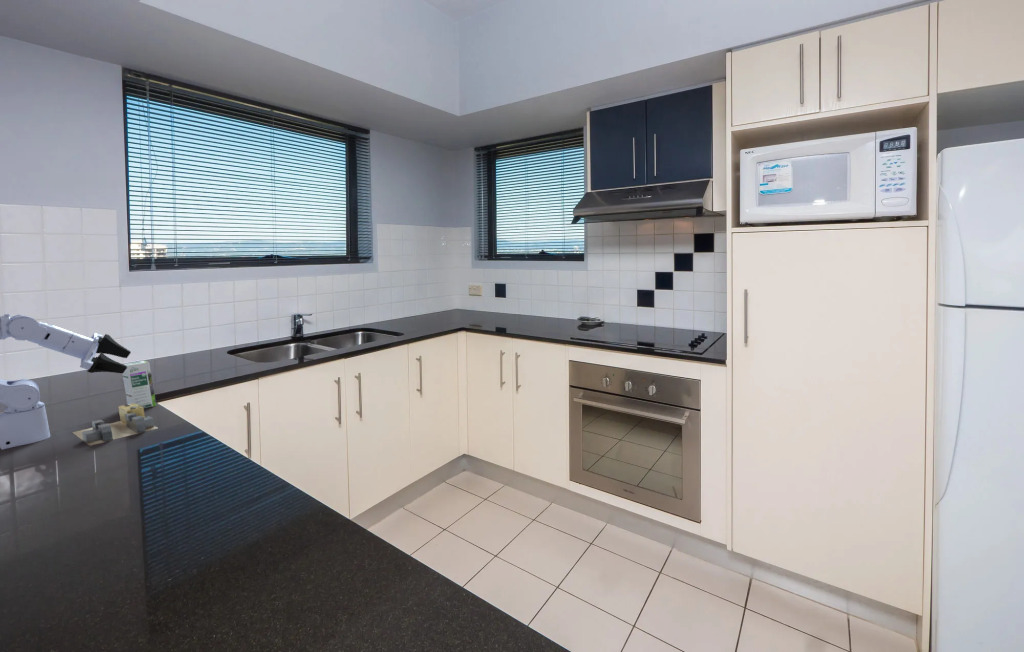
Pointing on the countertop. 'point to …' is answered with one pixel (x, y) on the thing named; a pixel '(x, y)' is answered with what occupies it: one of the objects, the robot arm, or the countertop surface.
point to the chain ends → (105, 432)
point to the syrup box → (139, 384)
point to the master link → (130, 410)
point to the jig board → (113, 432)
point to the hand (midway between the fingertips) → (127, 362)
